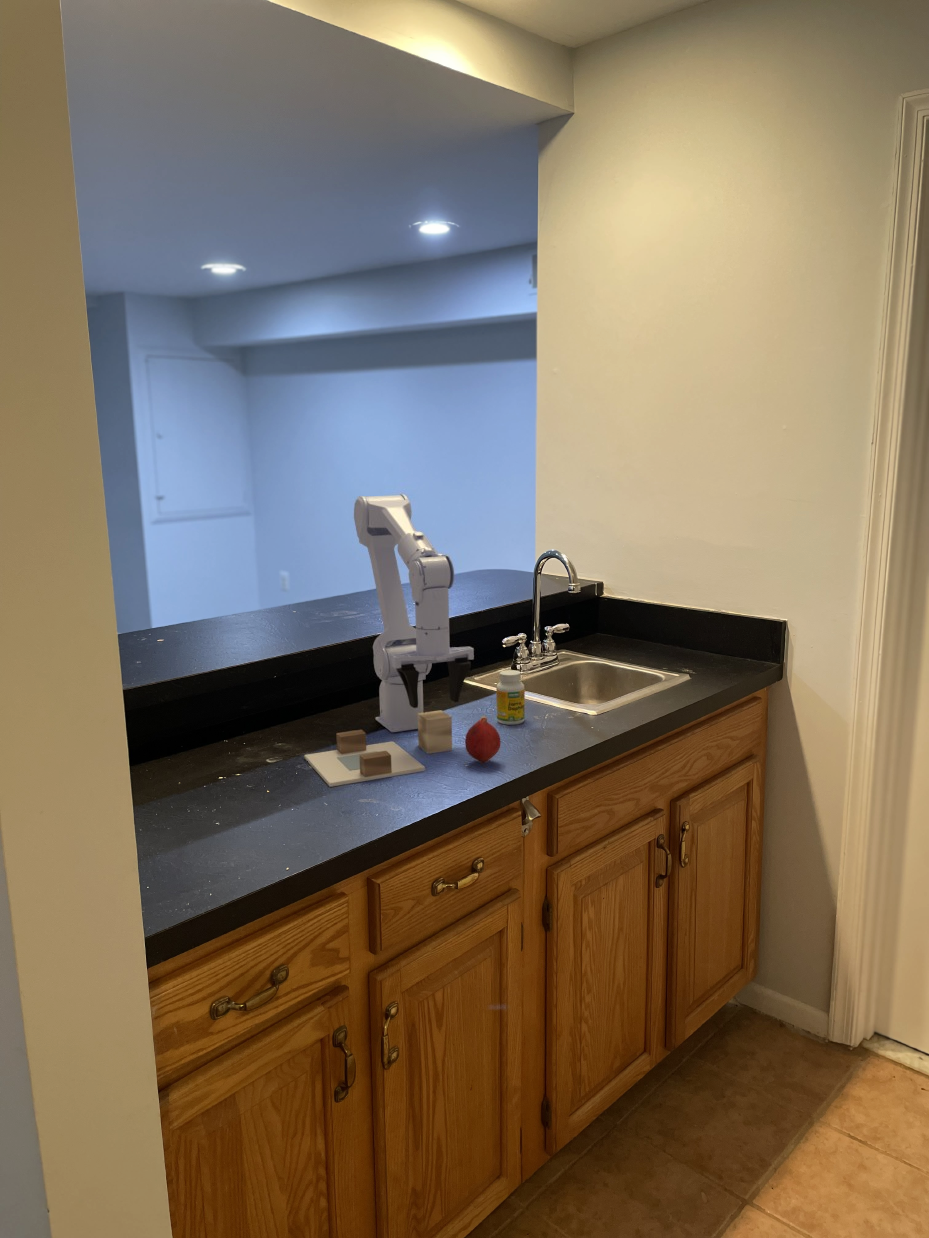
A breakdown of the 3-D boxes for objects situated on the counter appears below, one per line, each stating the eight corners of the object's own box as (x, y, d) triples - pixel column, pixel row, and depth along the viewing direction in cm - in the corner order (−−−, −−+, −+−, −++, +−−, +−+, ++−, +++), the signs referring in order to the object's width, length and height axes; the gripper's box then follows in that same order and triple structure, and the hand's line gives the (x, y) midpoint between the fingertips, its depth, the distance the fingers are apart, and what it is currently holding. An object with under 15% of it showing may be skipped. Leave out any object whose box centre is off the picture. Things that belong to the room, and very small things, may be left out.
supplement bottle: (513, 715, 182) (513, 667, 181) (530, 722, 178) (530, 673, 176) (491, 720, 179) (490, 671, 178) (507, 727, 175) (507, 677, 173)
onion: (475, 771, 152) (475, 724, 150) (459, 761, 157) (458, 715, 155) (506, 765, 154) (506, 718, 153) (489, 755, 159) (489, 710, 158)
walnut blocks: (337, 749, 162) (336, 733, 161) (361, 746, 163) (361, 729, 163) (364, 777, 148) (364, 759, 148) (391, 772, 150) (391, 754, 150)
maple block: (418, 746, 165) (417, 713, 164) (441, 742, 167) (441, 710, 166) (428, 753, 161) (427, 720, 160) (452, 749, 163) (451, 716, 162)
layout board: (304, 758, 159) (304, 754, 159) (393, 744, 166) (392, 740, 166) (329, 786, 146) (329, 782, 146) (424, 770, 152) (424, 766, 152)
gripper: (400, 635, 153) (403, 714, 156) (480, 626, 159) (481, 703, 162) (386, 627, 160) (388, 704, 162) (463, 619, 166) (465, 694, 168)
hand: (434, 703), depth 162 cm, fingers open, 7 cm apart
